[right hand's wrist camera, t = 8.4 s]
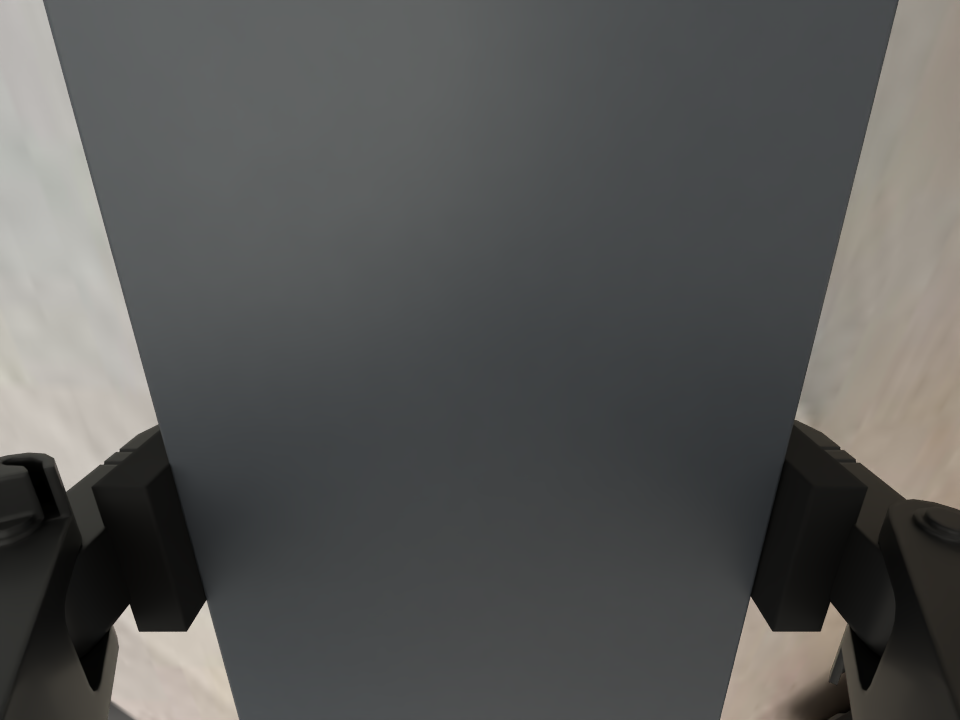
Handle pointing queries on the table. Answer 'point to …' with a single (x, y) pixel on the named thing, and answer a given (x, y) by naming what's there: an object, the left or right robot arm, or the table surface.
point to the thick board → (474, 326)
